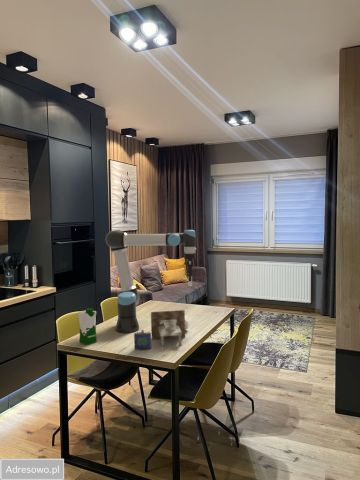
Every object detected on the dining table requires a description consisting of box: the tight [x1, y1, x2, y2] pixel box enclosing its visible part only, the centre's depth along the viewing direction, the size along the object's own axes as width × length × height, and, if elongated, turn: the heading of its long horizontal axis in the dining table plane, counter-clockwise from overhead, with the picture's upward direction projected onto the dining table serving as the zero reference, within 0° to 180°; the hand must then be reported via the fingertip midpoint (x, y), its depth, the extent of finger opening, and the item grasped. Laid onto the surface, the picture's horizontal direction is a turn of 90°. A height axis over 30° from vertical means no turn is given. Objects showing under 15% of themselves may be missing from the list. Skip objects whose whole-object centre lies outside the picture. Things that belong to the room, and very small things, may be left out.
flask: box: [133, 329, 152, 351], centre depth 201 cm, size 9×3×11 cm, turn 95°
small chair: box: [150, 309, 186, 348], centre depth 212 cm, size 20×16×16 cm
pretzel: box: [185, 318, 190, 331], centre depth 232 cm, size 11×12×9 cm
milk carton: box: [77, 307, 98, 346], centre depth 213 cm, size 9×9×20 cm
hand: (189, 284), depth 248 cm, fingers open, 13 cm apart
